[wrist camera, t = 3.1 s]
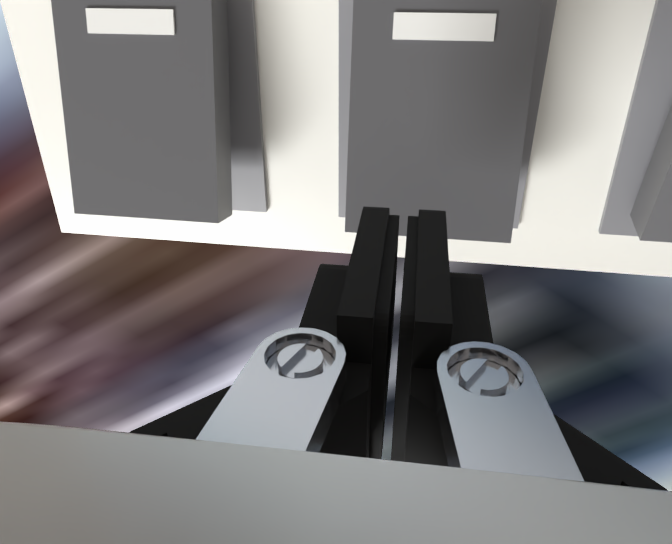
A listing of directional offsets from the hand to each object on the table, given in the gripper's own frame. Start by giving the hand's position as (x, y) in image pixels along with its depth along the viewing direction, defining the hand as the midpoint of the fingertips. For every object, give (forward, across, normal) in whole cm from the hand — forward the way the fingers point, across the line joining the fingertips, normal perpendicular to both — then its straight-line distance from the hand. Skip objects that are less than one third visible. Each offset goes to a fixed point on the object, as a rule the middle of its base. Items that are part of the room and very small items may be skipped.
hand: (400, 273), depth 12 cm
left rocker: (+5, +7, -2) cm, 9 cm away
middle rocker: (+5, -1, -2) cm, 5 cm away
